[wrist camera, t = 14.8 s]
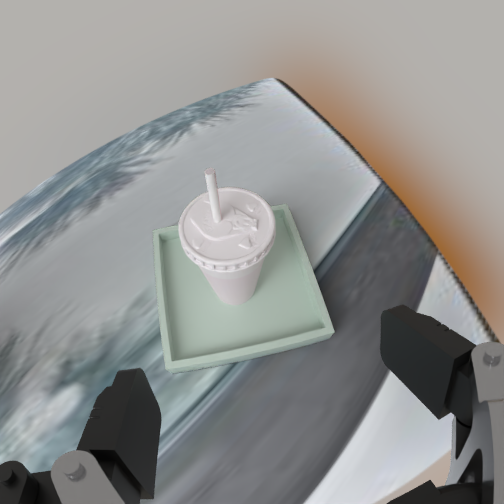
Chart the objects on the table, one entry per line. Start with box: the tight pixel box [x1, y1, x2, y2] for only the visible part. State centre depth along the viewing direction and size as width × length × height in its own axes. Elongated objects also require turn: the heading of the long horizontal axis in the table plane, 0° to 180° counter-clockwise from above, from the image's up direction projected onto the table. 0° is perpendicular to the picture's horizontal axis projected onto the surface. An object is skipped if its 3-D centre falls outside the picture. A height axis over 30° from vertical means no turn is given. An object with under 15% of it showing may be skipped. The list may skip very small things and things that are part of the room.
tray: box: [153, 204, 335, 374], centre depth 27 cm, size 14×14×2 cm
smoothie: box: [178, 168, 276, 305], centre depth 21 cm, size 6×6×14 cm
